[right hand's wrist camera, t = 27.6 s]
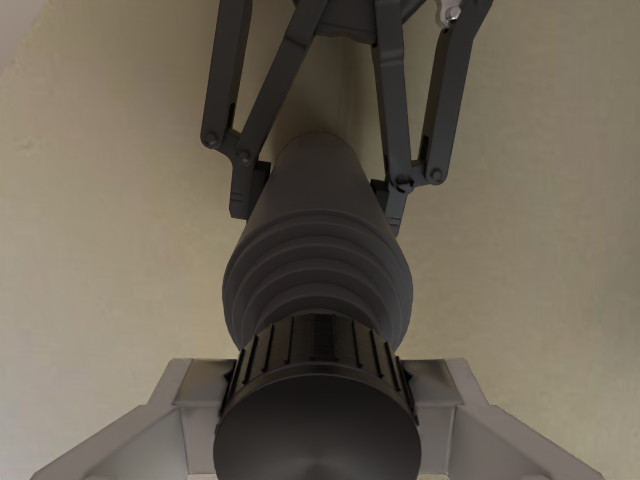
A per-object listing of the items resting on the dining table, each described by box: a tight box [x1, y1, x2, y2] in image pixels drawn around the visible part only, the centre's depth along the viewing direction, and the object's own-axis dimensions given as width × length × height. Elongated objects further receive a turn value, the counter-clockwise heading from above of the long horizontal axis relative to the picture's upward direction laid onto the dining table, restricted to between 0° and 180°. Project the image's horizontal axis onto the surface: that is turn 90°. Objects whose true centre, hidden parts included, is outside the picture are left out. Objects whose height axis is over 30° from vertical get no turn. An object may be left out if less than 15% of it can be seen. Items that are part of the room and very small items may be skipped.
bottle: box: [222, 132, 413, 352], centre depth 20 cm, size 6×6×24 cm
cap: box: [213, 313, 422, 480], centre depth 9 cm, size 4×4×2 cm
